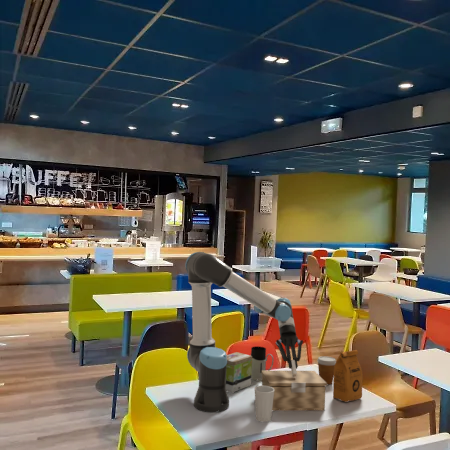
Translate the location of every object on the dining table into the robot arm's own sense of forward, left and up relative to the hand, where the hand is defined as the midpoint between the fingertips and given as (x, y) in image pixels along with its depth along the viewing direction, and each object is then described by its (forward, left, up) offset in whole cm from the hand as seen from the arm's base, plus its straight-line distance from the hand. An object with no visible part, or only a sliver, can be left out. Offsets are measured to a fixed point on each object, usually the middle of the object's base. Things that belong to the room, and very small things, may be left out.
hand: (294, 375), depth 205 cm
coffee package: (+27, +7, -13) cm, 31 cm away
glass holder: (-8, +34, -13) cm, 37 cm away
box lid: (0, +2, -5) cm, 6 cm away
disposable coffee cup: (+24, +29, -13) cm, 40 cm away
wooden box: (0, +3, -13) cm, 13 cm away
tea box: (-23, +22, -13) cm, 35 cm away
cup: (-16, -14, -13) cm, 25 cm away
